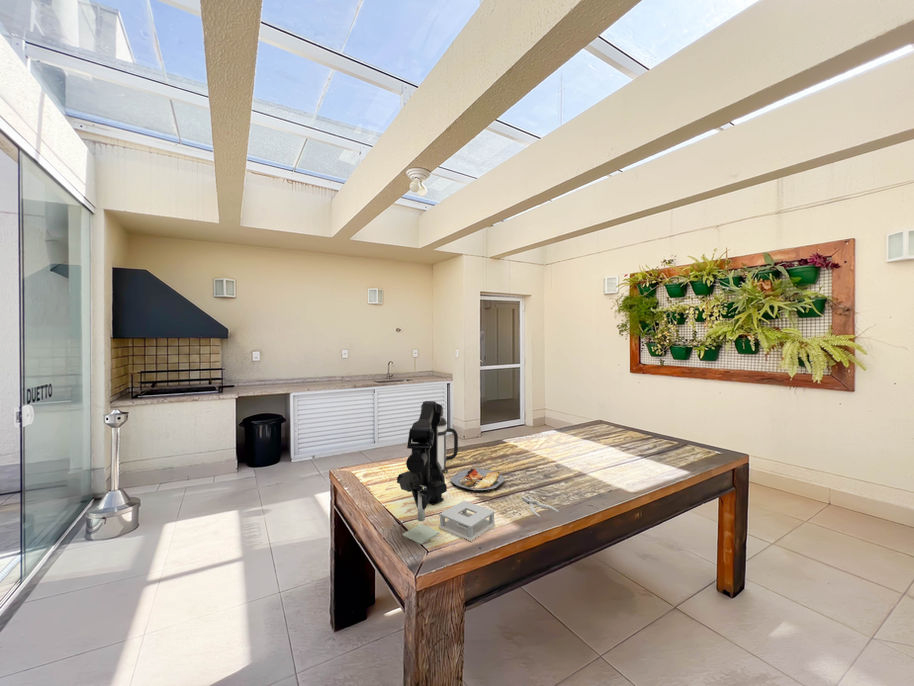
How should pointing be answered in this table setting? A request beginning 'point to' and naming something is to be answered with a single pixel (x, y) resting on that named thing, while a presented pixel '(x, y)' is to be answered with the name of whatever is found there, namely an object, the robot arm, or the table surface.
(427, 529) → the mat
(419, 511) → the shiny metal cylinder
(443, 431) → the coffee press
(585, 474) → the table surface
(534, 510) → the pliers
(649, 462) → the table surface
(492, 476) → the food plate
